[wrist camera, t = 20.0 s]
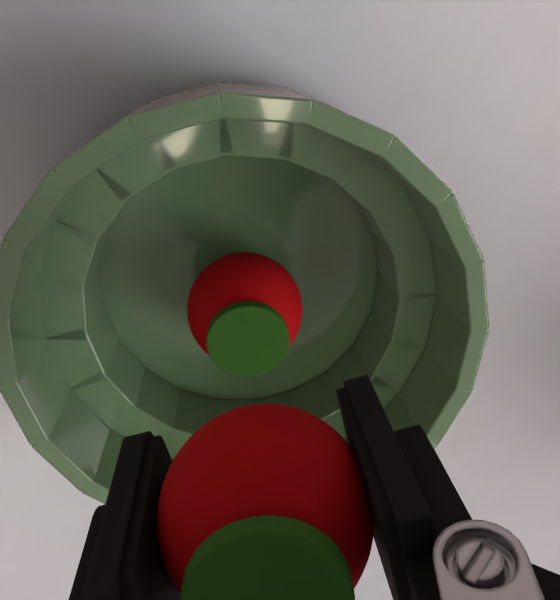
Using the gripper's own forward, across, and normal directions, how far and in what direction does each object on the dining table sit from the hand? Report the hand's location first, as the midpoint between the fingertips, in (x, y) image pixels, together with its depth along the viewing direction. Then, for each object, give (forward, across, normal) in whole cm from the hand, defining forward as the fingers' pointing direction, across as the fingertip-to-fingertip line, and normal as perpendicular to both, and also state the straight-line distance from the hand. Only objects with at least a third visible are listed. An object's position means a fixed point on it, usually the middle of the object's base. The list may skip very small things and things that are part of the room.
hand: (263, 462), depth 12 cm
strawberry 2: (0, 0, 0) cm, 0 cm away
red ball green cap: (+10, 0, 0) cm, 10 cm away
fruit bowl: (+10, 0, 0) cm, 10 cm away
